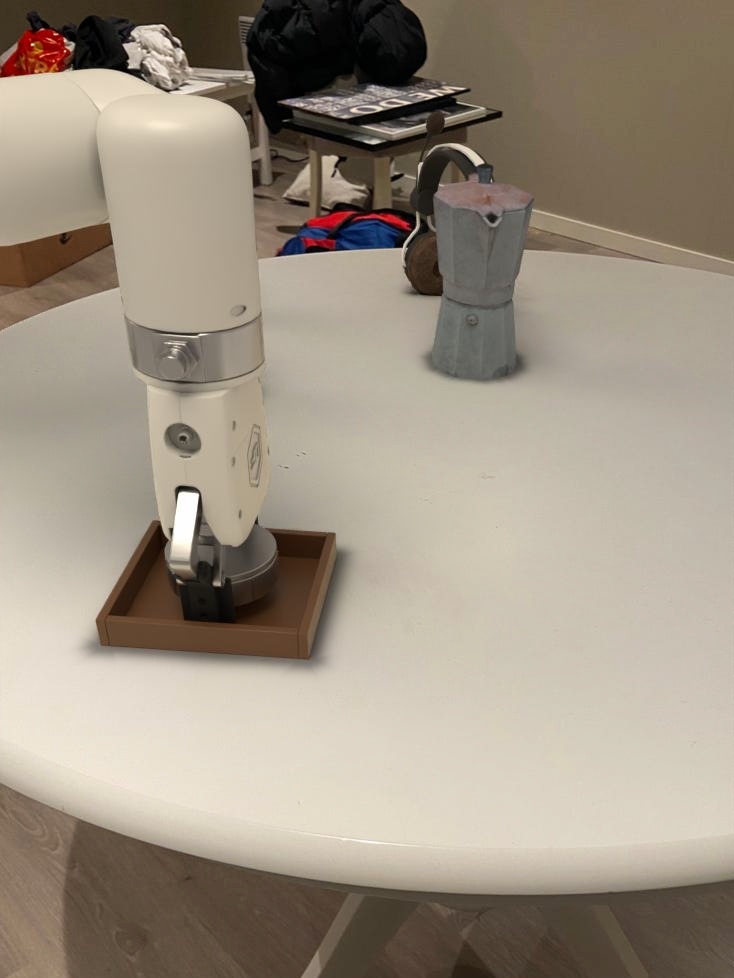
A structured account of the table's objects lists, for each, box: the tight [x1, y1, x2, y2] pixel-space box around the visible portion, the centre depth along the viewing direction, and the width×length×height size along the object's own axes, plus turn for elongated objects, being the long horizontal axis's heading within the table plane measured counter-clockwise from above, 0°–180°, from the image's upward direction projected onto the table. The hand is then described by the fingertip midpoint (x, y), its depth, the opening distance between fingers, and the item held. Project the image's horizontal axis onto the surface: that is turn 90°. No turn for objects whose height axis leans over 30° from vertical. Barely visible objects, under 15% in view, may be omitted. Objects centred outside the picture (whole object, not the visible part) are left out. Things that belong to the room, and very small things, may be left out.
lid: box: [165, 524, 280, 606], centre depth 66 cm, size 7×7×2 cm
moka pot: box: [431, 162, 535, 381], centre depth 98 cm, size 10×15×20 cm, turn 12°
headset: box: [400, 111, 496, 297], centre depth 112 cm, size 17×8×20 cm, turn 34°
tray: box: [94, 519, 338, 661], centre depth 67 cm, size 13×12×3 cm
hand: (225, 593), depth 67 cm, fingers closed on lid, 7 cm apart
